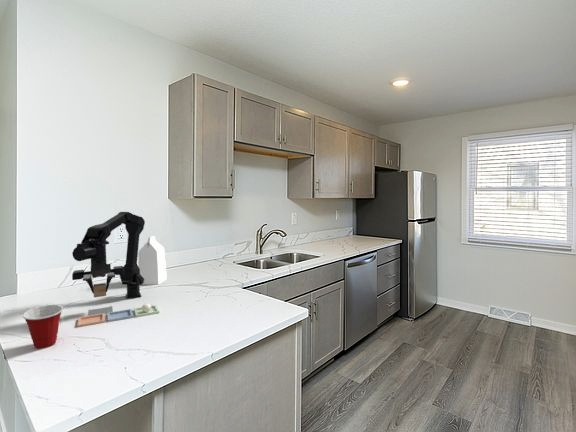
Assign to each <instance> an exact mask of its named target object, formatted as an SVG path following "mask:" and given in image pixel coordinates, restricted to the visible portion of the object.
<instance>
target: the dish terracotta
mask: <svg viewBox="0 0 576 432" xmlns="http://www.w3.org/2000/svg"><path fill="white" fill-rule="evenodd" d="M105 316H106V314H105V313H103V314H96V315H90V316H88V315H86V316H85V315H83V316H79V317H78V321H77V324H76V325H77V328H82V327H87V326H93V325H99V324H104V323H106V319H105V318H106V317H105Z"/></svg>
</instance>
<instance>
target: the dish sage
mask: <svg viewBox="0 0 576 432" xmlns="http://www.w3.org/2000/svg"><path fill="white" fill-rule="evenodd" d="M150 306H151V309H150V310H149V311H148V312H144V311H143V310H142V306H141V307H134V308H133V311H134V315H135V318H141V317H146V316H150V315H157V314H160V310H159V308H158V306H157V304H154V305H150Z"/></svg>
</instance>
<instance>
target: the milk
mask: <svg viewBox="0 0 576 432" xmlns="http://www.w3.org/2000/svg"><path fill="white" fill-rule="evenodd" d="M165 250H166V249H165V248H164V246H163V245H162V244H160V242H158V241H157V240H156V235H152V236H148V237H147V241H146V243H144V244H143V246H142V247H141V248H140V249H138V257H137V265H138V267H139V269H140V275H141V276H142V277H143V278H144V283H142V284H141V285H160V284H162V283H163V282H164V281H166V280H167V279H168V276H167V265H166V263H167V262H166V254H165V253H166V252H165Z"/></svg>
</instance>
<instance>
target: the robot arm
mask: <svg viewBox="0 0 576 432" xmlns="http://www.w3.org/2000/svg"><path fill="white" fill-rule="evenodd" d="M145 223H146V221H145V219H144V217H142V216H139V215H136V214H133V213H132V212H129V211H119V212H118V213H117V214H116V215H114V216H112V217H111V218H109V219H107V220H105V221H104V222H103V223H99V224H95V225H92V226H90V227H88V228H87V229H86V232H85V234H84V237H83V238H82V240H81V243H77V244H76V246H75V248H74V249H73V251H72V257H73V259H74V260H75V261H77V262H83V261H87V260H90V270H87V271H85V269H78V270H74V271H73V272H72V274H71V275H72V276H71V277H72V280H73V281H78V280H82V281H83V282H84V281H85V282H86V283H87V285H88V286H89V289H90V290H91V293H92V294H93V295H94V290H93V286H94V283H93V279H94V278H95V279H96V278H104V277H106V282H105V283H106V293H107V292H108V289H109V286H110V284H111V282H112V279H113V278H116V276H119V278H120V279H119V280H120V281H121V285H123V286H125V285H126V294H125V298H126V299H134V298H139V297H140V298H141V297H142V295H141V292H140V286H141V285H143V284H142V283H144V278H143V277H142V276H141V275H140V269H139V267H138V258H139V244H140V235H141V233H142V232H143V230H144V229H145ZM122 225H125V226H124V228H125V231H126V232H127V234H128V235H127V246H126V255H125V257H126V258H125V264H124V265H115V266H113V267H112V268H111V266H112V265H111V263H107V245H109V244H110V242H109V241H108V240H107V239H108V238H109V237H110V236H111V235H112V231H115V229H116V228H117V229H118V227H120V226H122Z"/></svg>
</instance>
